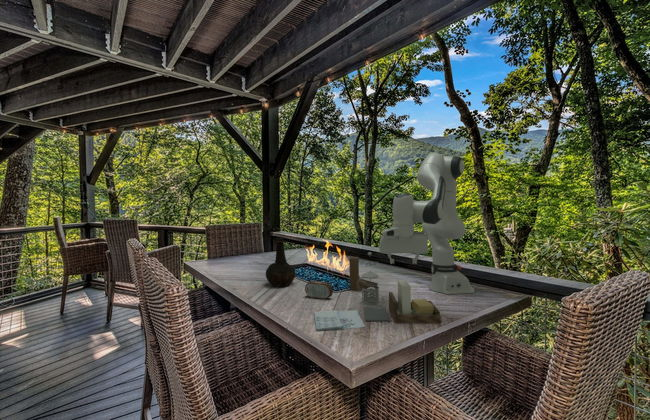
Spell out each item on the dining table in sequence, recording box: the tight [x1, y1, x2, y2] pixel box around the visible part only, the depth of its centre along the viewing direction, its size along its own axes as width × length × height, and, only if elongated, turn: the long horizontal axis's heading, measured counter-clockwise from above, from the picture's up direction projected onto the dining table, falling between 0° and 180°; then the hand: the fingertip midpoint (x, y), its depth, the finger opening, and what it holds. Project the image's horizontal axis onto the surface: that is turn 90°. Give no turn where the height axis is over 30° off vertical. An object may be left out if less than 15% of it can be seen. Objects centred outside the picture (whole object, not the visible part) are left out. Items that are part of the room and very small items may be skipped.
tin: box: [304, 280, 334, 300], centre depth 162 cm, size 15×3×8 cm, turn 65°
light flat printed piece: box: [313, 309, 366, 332], centre depth 132 cm, size 19×20×2 cm
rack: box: [388, 291, 442, 324], centre depth 136 cm, size 18×17×8 cm
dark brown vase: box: [265, 237, 296, 287], centre depth 190 cm, size 18×18×28 cm
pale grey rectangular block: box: [397, 279, 412, 314], centre depth 136 cm, size 4×11×14 cm, turn 176°
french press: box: [357, 251, 382, 308], centre depth 152 cm, size 10×12×25 cm
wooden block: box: [348, 256, 368, 292], centre depth 175 cm, size 9×4×18 cm, turn 75°
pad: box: [363, 307, 391, 323], centre depth 137 cm, size 10×14×1 cm
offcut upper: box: [411, 298, 435, 314], centre depth 135 cm, size 6×9×3 cm, turn 4°
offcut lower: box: [412, 307, 433, 315], centre depth 136 cm, size 6×9×3 cm, turn 179°
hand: (403, 263), depth 135 cm, fingers open, 8 cm apart
